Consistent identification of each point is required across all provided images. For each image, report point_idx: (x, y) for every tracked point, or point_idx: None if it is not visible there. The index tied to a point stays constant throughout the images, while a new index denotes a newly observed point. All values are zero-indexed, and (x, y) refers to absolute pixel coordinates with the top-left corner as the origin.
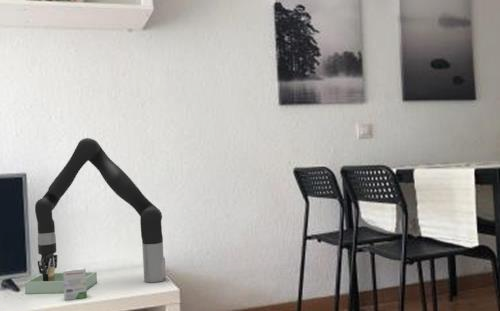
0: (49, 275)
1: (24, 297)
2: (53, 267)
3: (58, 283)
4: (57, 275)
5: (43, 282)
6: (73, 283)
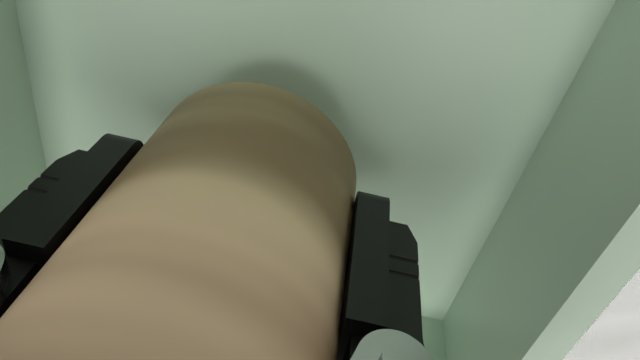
0: (331, 257)
1: (626, 313)
2: (128, 354)
3: None
4: None
5: (629, 262)
6: None
